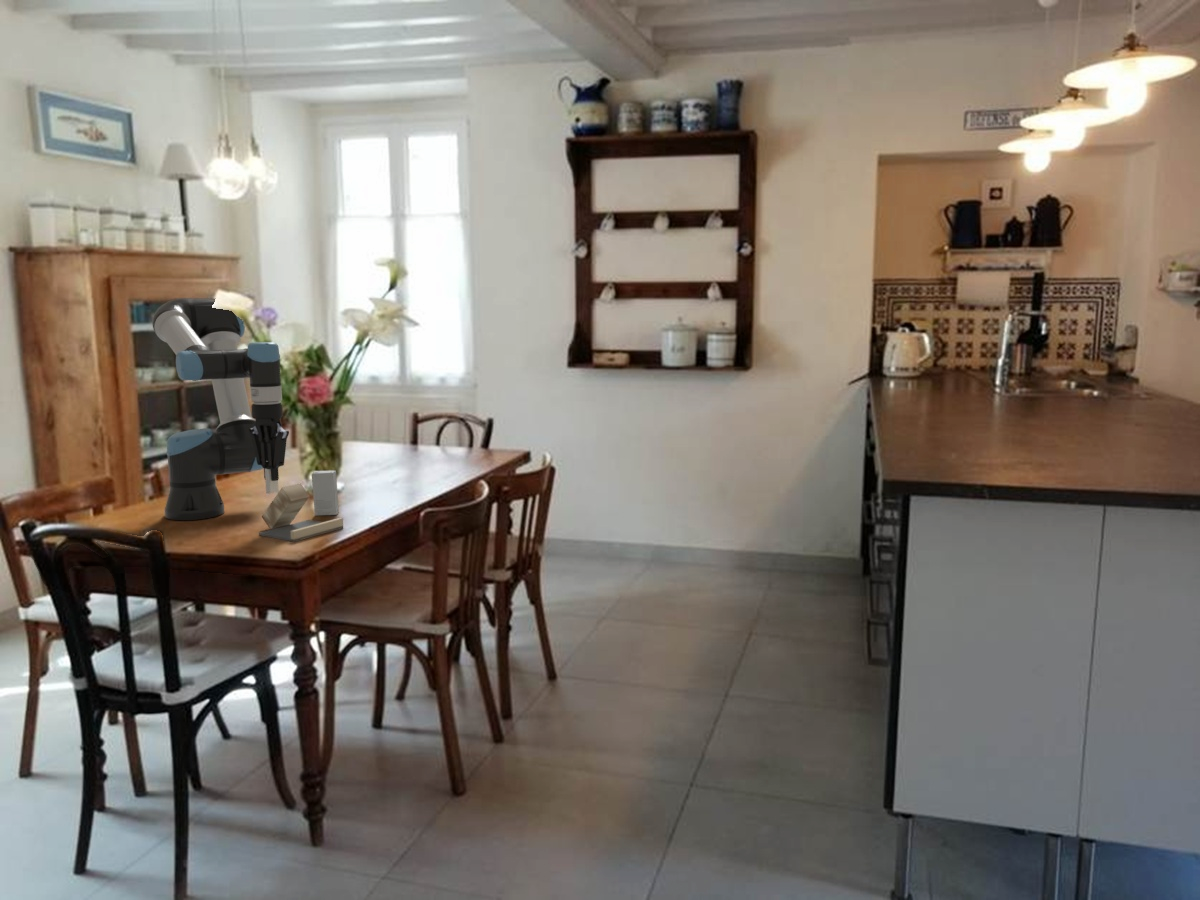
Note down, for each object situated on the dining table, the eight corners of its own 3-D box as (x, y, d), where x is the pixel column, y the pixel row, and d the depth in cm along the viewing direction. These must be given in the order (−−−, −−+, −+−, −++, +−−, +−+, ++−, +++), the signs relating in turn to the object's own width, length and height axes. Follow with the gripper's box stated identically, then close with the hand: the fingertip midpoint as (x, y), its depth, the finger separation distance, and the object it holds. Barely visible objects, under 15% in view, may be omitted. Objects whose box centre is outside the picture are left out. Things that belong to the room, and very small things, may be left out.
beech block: (261, 516, 237) (281, 487, 231) (280, 512, 242) (300, 483, 236) (270, 529, 235) (291, 500, 230) (289, 525, 240) (309, 496, 235)
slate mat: (259, 535, 230) (258, 525, 230) (308, 522, 244) (308, 512, 243) (294, 541, 224) (293, 531, 223) (343, 528, 237) (342, 518, 237)
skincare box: (339, 512, 256) (337, 469, 254) (336, 515, 251) (334, 472, 249) (316, 512, 255) (314, 470, 253) (313, 516, 250) (311, 473, 249)
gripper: (237, 402, 234) (243, 492, 237) (271, 405, 227) (277, 497, 231) (262, 400, 240) (267, 487, 244) (295, 402, 234) (301, 492, 237)
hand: (272, 492), depth 237 cm, fingers closed
